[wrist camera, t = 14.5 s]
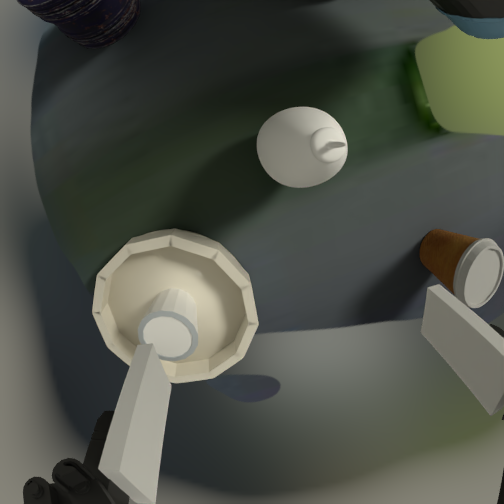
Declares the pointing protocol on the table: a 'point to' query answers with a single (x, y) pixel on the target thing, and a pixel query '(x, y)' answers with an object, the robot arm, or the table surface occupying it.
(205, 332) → the cream bowl
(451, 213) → the table surface
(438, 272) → the disposable coffee cup
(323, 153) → the sauce bottle
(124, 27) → the storage jar
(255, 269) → the table surface
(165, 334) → the shot glass
